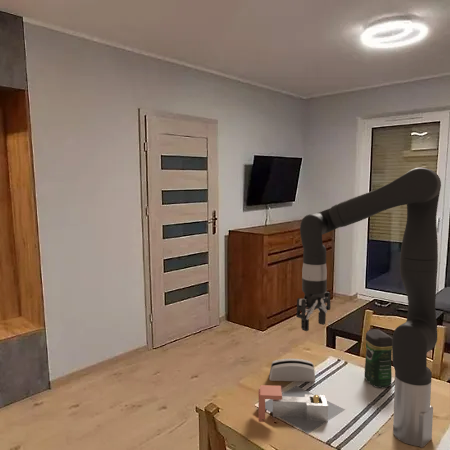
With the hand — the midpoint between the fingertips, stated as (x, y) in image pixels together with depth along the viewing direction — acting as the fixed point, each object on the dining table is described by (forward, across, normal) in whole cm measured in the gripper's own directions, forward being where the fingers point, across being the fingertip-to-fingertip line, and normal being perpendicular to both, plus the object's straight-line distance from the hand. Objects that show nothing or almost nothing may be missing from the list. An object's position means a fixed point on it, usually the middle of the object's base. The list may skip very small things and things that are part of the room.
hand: (313, 327), depth 127 cm
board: (+26, -5, +1) cm, 27 cm away
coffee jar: (+26, +30, -6) cm, 40 cm away
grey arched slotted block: (+26, +7, +15) cm, 31 cm away
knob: (+26, -5, -5) cm, 27 cm away
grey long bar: (+25, -9, -1) cm, 27 cm away
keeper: (+26, -14, +4) cm, 30 cm away
